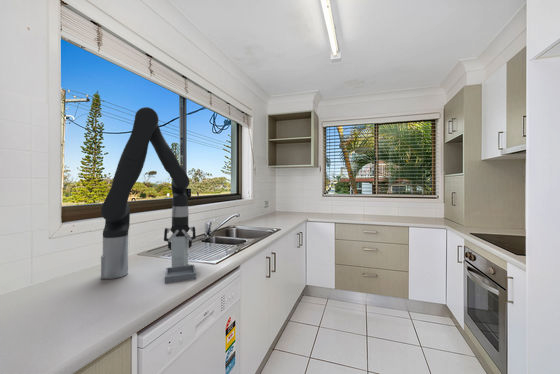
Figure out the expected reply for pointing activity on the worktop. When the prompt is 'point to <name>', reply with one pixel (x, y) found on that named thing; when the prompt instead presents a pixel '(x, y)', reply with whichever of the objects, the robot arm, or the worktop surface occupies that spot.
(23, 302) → the worktop surface
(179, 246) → the skincare box
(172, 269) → the tray
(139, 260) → the worktop surface
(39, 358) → the worktop surface
